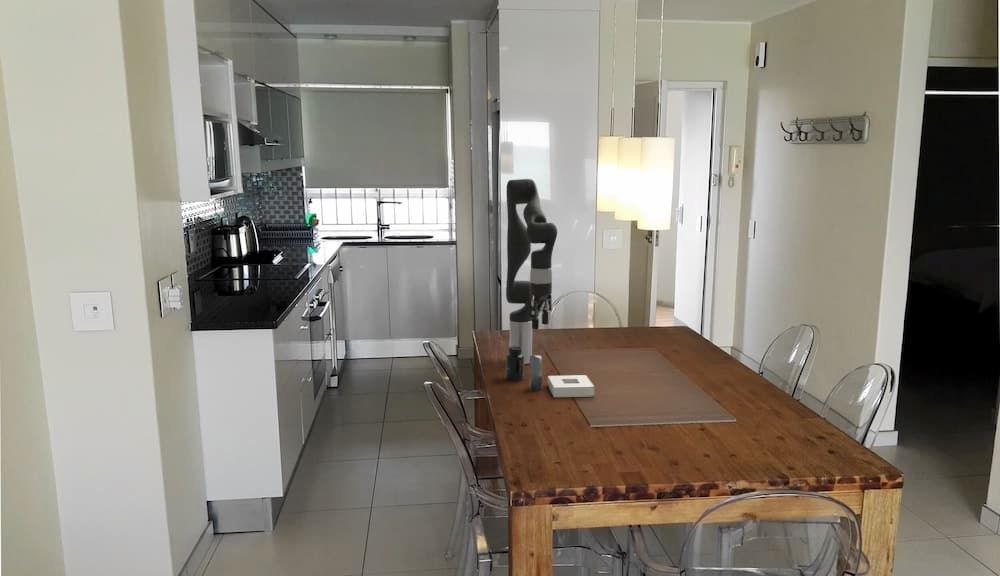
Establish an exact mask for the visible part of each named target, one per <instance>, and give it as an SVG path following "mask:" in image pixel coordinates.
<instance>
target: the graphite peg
mask: <svg viewBox="0 0 1000 576" xmlns="http://www.w3.org/2000/svg"><path fill="white" fill-rule="evenodd" d="M542 387H543V356H542V355H541V354H532V355H531V356H530V363H529V390H530V391H534V392H536V391H537V392H539V391H542V390H543V388H542Z"/></svg>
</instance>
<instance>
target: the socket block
mask: <svg viewBox="0 0 1000 576" xmlns="http://www.w3.org/2000/svg"><path fill="white" fill-rule="evenodd" d="M547 387H548V388H549V390H550V392H551V395H552V396H553V397H554V398H577V397H579V398H581V397H582V398H584V397H585V398H586V397H587V398H588V397H595V385H594V384H593V383H592V381H591V380H590V378H589V377H588V376H587V375H586V374H581V375H580V374H579V375H575V374H574V375H573V374H572V375H571V374H570V375H548V376H547Z"/></svg>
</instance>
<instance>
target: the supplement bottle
mask: <svg viewBox="0 0 1000 576" xmlns="http://www.w3.org/2000/svg"><path fill="white" fill-rule="evenodd" d="M521 353H522V348H521V347H518V346H512V347H508V354H506V357H505V379H506V380H507V381H510V382H521V381H522V380H524V378H525V364H524V356H523V355H522V354H521Z"/></svg>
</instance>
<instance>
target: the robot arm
mask: <svg viewBox="0 0 1000 576" xmlns="http://www.w3.org/2000/svg"><path fill="white" fill-rule="evenodd" d="M537 187H538V186H537V185H536V182H535V180H533V179H532V178H523V179H520V178H519V179H517V178H516V179H510V180H508V181H507V184H506V193H505V194H506V208H507V209H506V210H507V231H506V232H507V234H506V235H507V236H506V242H507V243H506V252H507V253H506V255H507V256H506V258H507V259H506V260H507V261H506V262H507V269H506V287H505V297H506V301H507V303H508V304H514V305H515V304H516V305H517V304H518V305H519V304H524V305H523V306H522V307H520V309H517V310H514V311H512V312H510V313H509V342H508V343H509V347H512V346H518V347H521V348H522V353H521V354H522V355H523V356H524V365H527V364H530V356H531V355H533V330H539V327H540V326H539V325H540V323H539V321H540V319H539V318H540V315H541V324H542V325H548V324H549V314H550V312H552V310H553V308H552V306H553V305H552V298H553V297H552V291H553V290H552V287H553V286H552V283H553V272H552V256H553V251H554V247H555V243H556V240H557V237H558V229H557V225H556V224H555V223H552V222H547V217H546V215H545V213H544V211H543V209H542V206H541V200H540V195H539V191H538V188H537ZM517 205H525V207H524V209H523V211H522V212H523V213H522V216H523V219H524V221H525V223H526V225H525V223H524V222H523V220H522V218H521V217H520V215H519V213H518V210H517ZM532 244H536V245H537V244H544V245H543V247H542V248H539V249H536V250H535V249H534V250H533V251H532V249H531V247H532ZM531 251H532V252H531ZM529 256H530V271H529V272H530V273H529V280H515V279H516V277H517V274H518V272H519V270H520V269H521V267H522V266H523V264H525V261H526V260H527V259H528V258H529ZM509 347H508V348H509Z"/></svg>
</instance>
